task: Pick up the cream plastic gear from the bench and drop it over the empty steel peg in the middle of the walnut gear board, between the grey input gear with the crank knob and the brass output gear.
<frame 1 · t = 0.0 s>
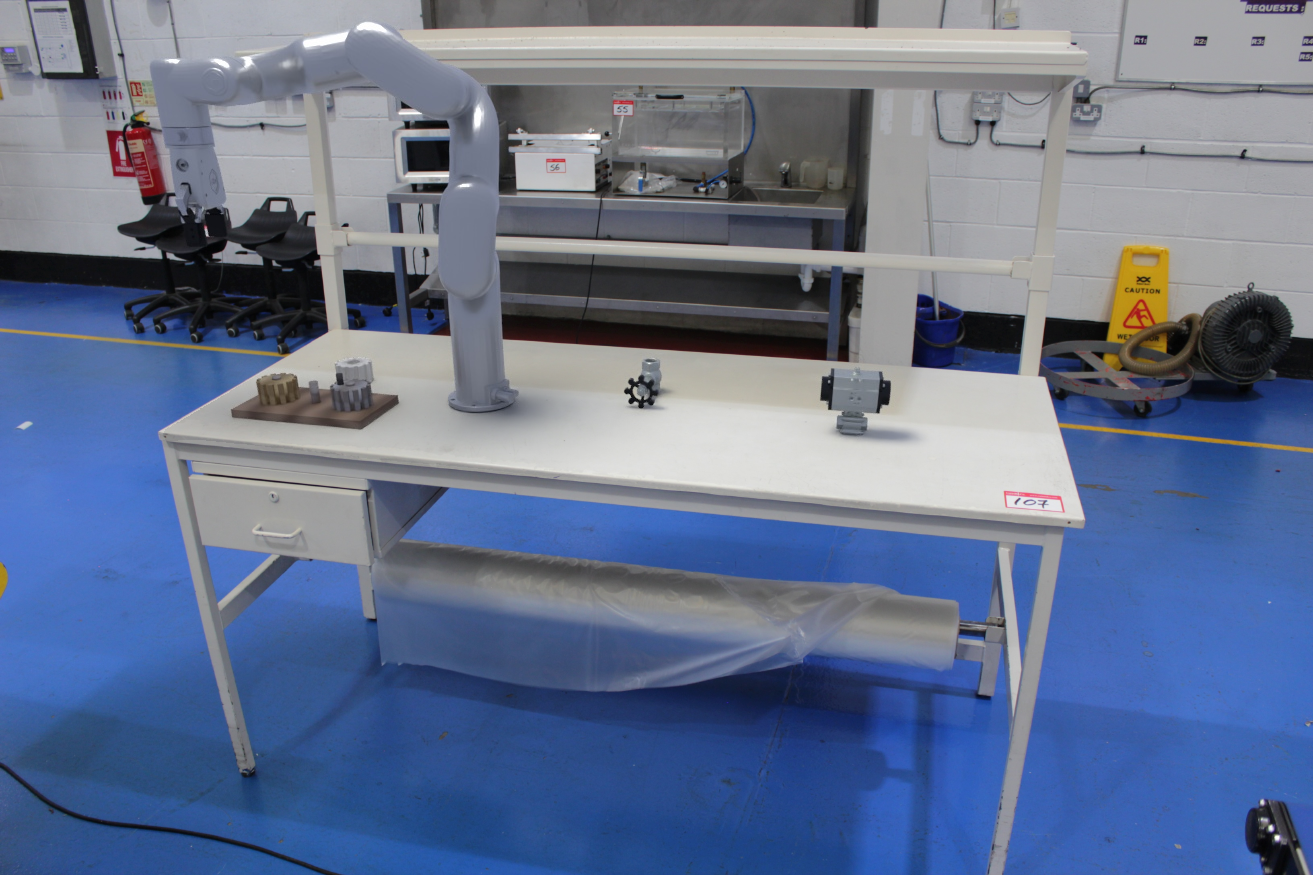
hand: (208, 241, 153), 31 cm above the workbench, tool pointing down, fingers open, 9 cm apart
pneumatic valve: (850, 433, 156), on the workbench
valve: (647, 399, 172), on the workbench
gear board: (317, 409, 165), on the workbench
gear: (355, 380, 180), on the workbench
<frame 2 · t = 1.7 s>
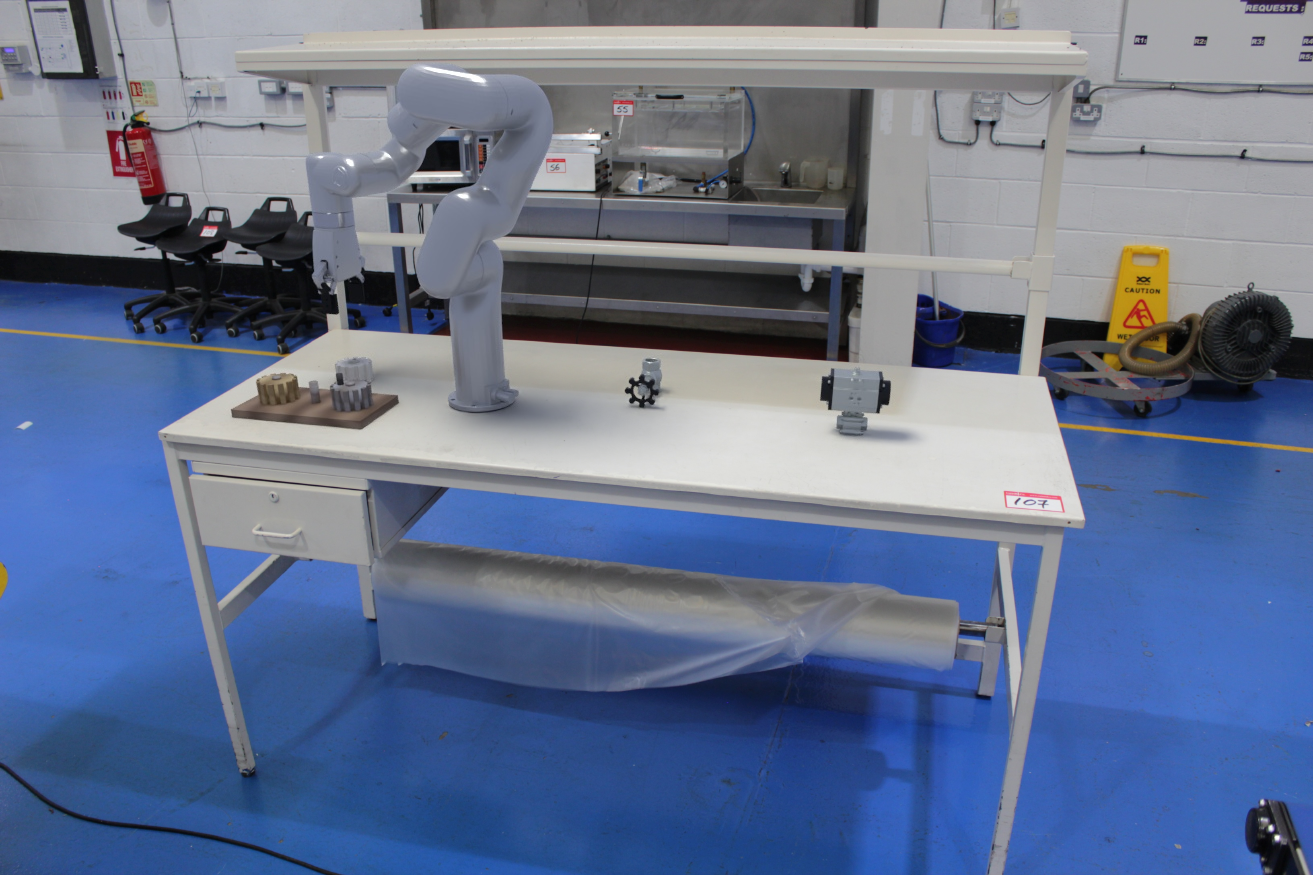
hand: (344, 307, 175), 15 cm above the workbench, tool pointing down, fingers open, 9 cm apart
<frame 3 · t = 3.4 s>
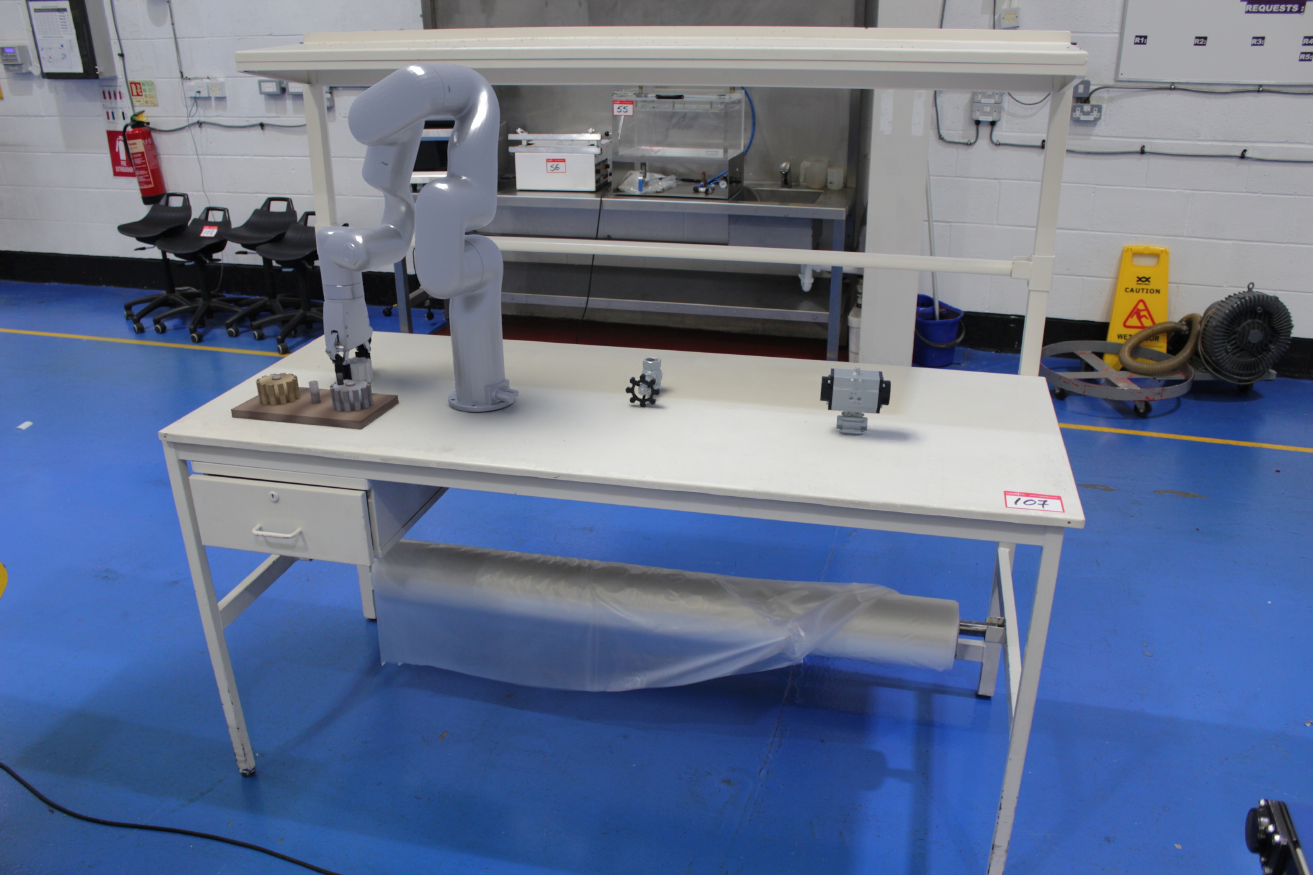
hand: (354, 375, 180), 1 cm above the workbench, tool pointing down, fingers closed on gear, 7 cm apart
gear: (355, 380, 180), on the workbench, touching gripper
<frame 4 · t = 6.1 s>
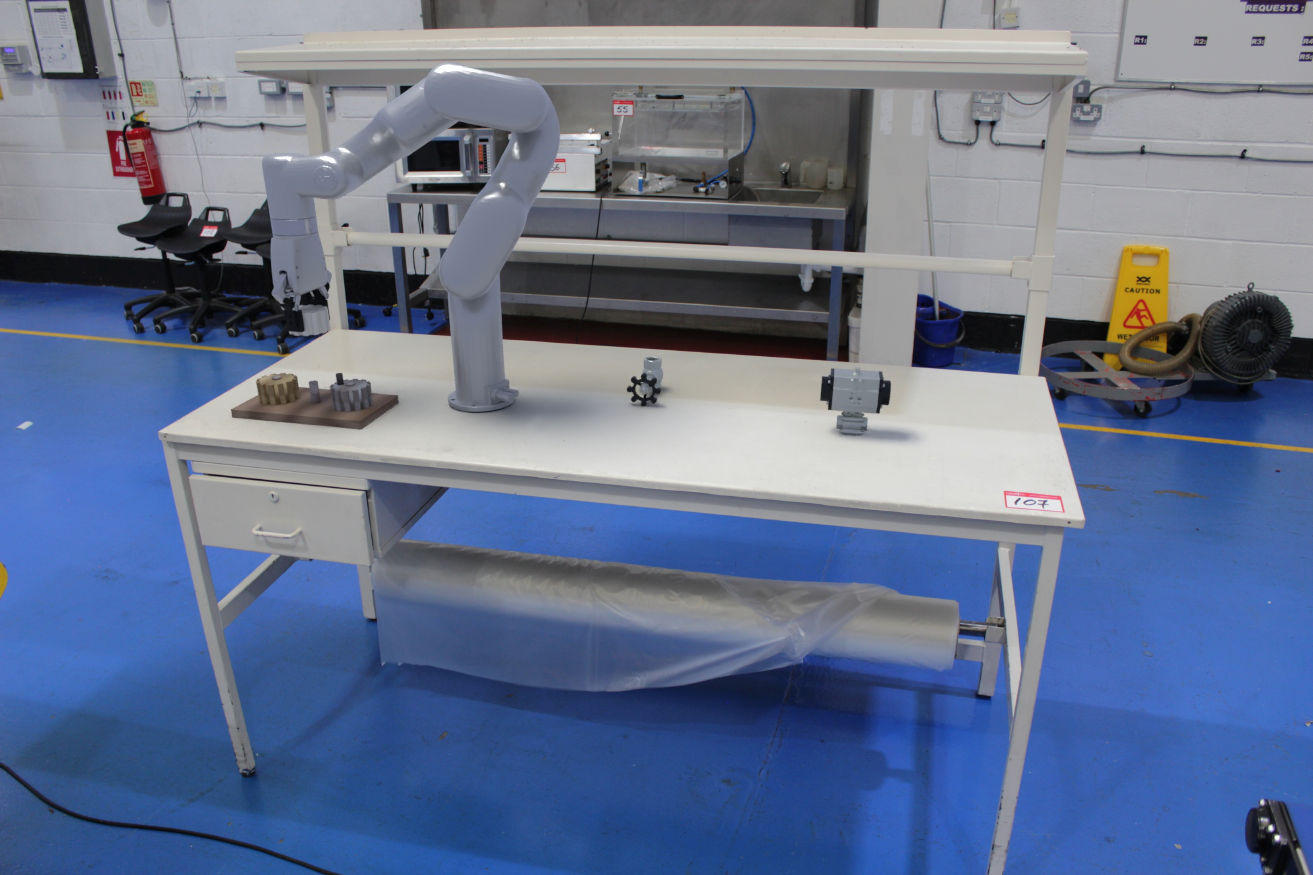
hand: (309, 325, 160), 16 cm above the workbench, tool pointing down, fingers closed on gear, 7 cm apart
gear: (310, 330, 161), point 15 cm above the workbench, touching gripper
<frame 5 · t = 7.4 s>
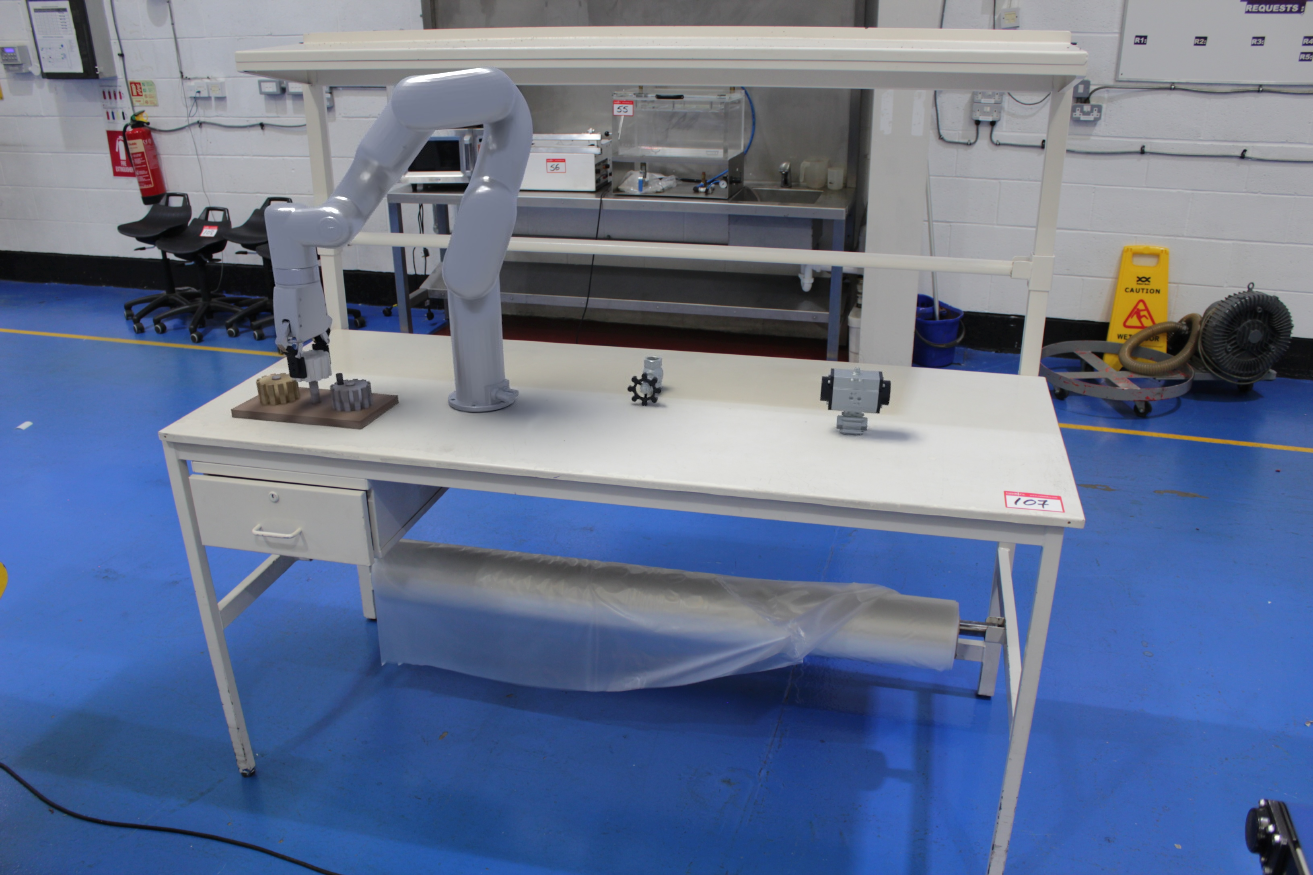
hand: (311, 370, 162), 8 cm above the workbench, tool pointing down, fingers closed on gear, 7 cm apart
gear: (311, 376, 162), point 7 cm above the workbench, touching gripper
when the fingers open (4 cm above the workbench, at t = 8.7 s): gear drops 1 cm, resting on gear board.
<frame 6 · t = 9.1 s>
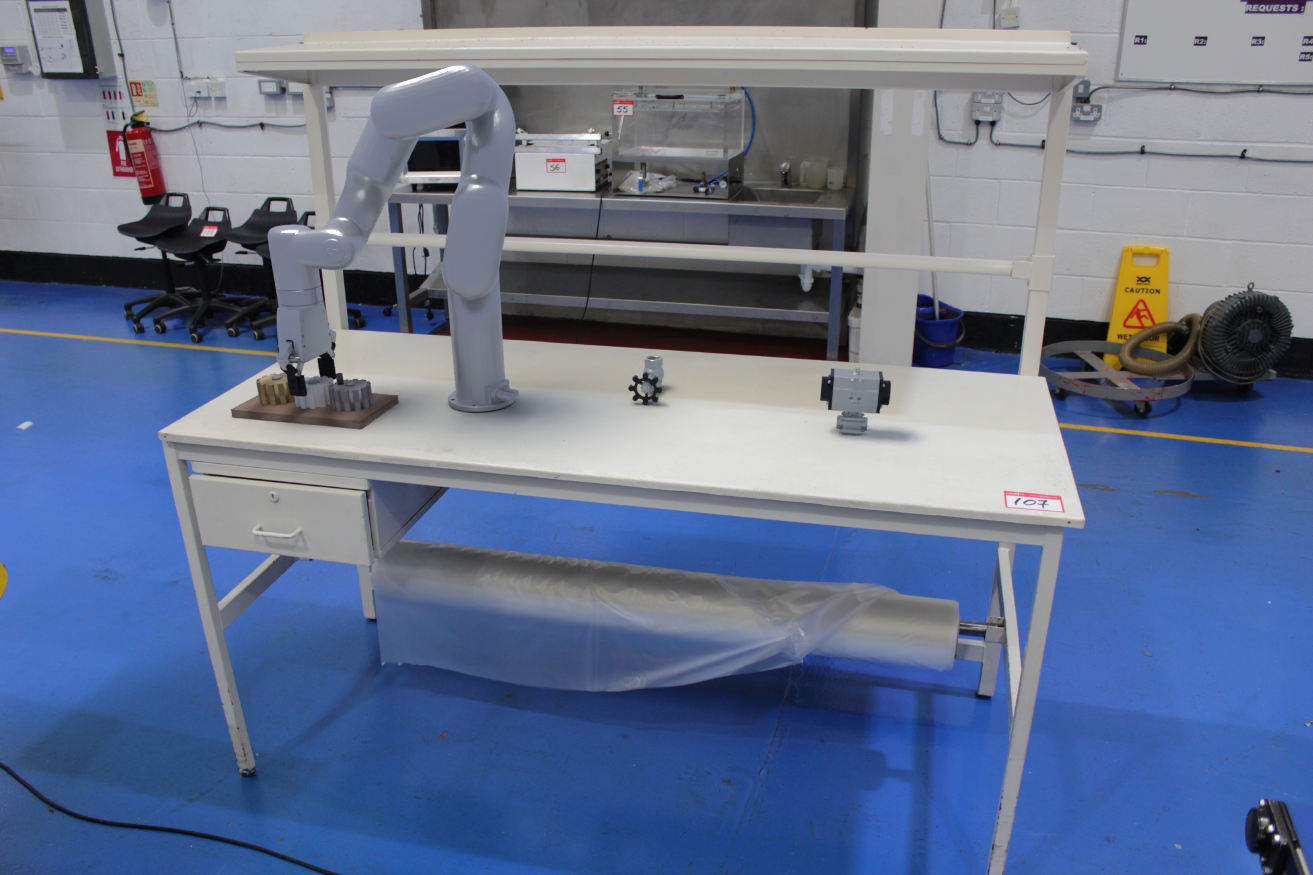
hand: (313, 387, 163), 5 cm above the workbench, tool pointing down, fingers open, 9 cm apart
gear: (316, 402, 164), point 1 cm above the workbench, touching gear board
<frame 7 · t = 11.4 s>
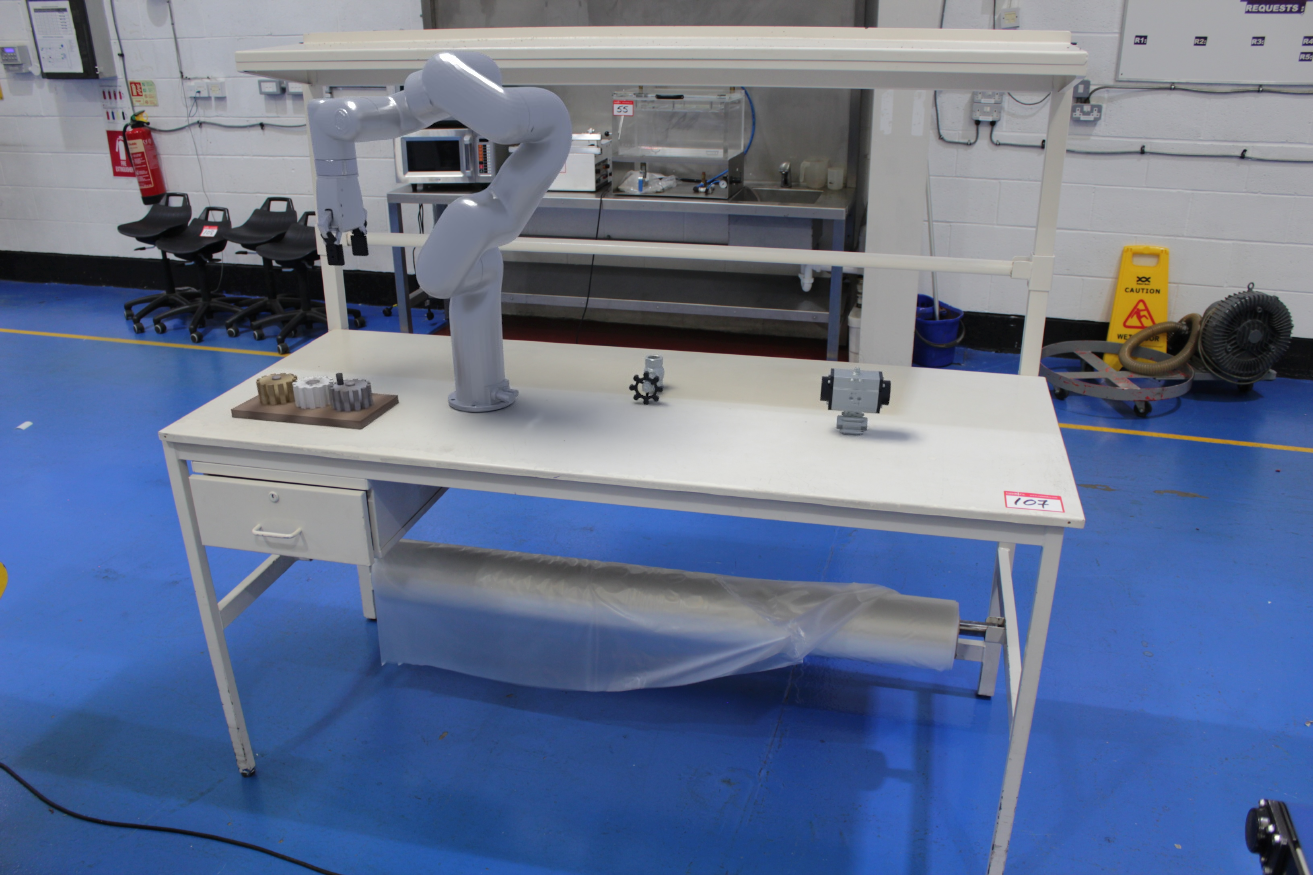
hand: (349, 260, 171), 25 cm above the workbench, tool pointing down, fingers open, 9 cm apart
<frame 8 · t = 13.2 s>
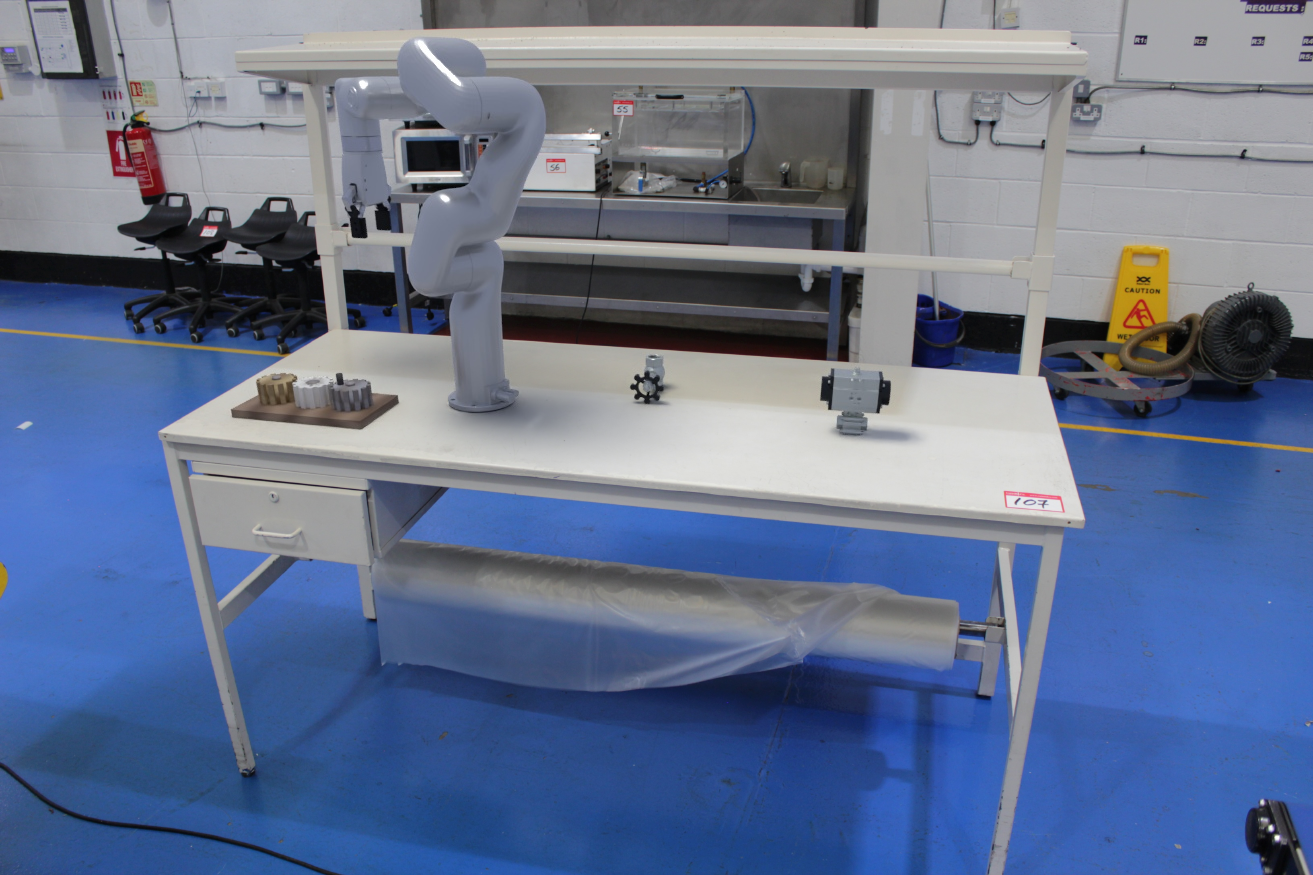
hand: (372, 234, 178), 28 cm above the workbench, tool pointing down, fingers open, 9 cm apart
at the end: gear 0.1 cm off-centre on the gear board, point 1.5 cm above the gear board's base; gear tilted 0°; the gripper is holding nothing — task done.
